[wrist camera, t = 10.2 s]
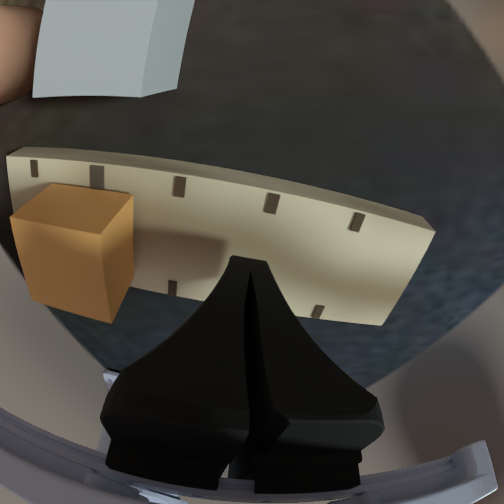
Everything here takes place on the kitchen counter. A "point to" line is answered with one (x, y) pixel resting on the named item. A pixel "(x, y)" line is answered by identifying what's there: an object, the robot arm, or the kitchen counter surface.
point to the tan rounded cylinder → (18, 49)
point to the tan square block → (77, 249)
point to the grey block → (110, 47)
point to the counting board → (244, 229)
